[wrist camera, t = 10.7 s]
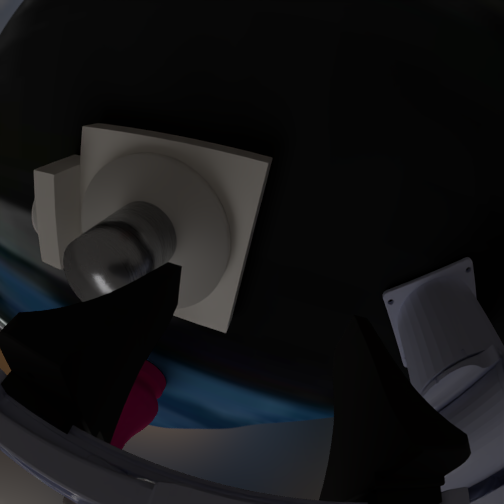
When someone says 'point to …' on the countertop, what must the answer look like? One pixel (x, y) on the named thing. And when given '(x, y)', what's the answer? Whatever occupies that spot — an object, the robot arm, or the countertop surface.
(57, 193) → the scale
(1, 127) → the countertop surface
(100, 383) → the robot arm
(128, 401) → the pepper mill
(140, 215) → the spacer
